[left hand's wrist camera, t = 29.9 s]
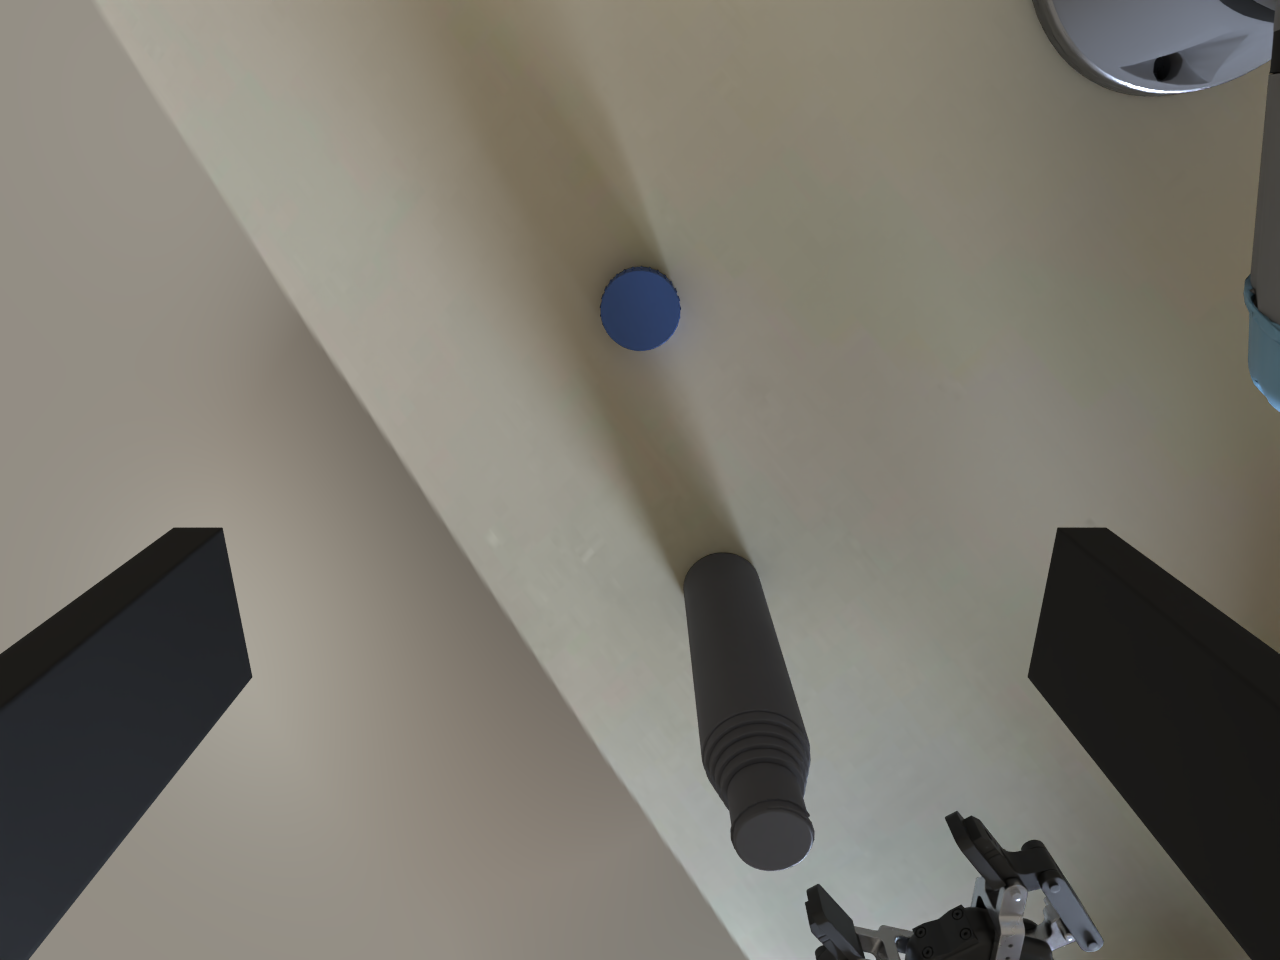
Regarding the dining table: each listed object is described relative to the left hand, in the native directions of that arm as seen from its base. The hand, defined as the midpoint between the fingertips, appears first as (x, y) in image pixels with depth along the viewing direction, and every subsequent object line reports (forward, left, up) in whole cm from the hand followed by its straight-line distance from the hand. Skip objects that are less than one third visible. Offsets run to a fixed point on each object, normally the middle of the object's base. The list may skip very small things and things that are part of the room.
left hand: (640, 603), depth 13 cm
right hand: (+29, -6, -20) cm, 36 cm away
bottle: (+17, -6, -34) cm, 39 cm away
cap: (0, 0, -32) cm, 32 cm away
